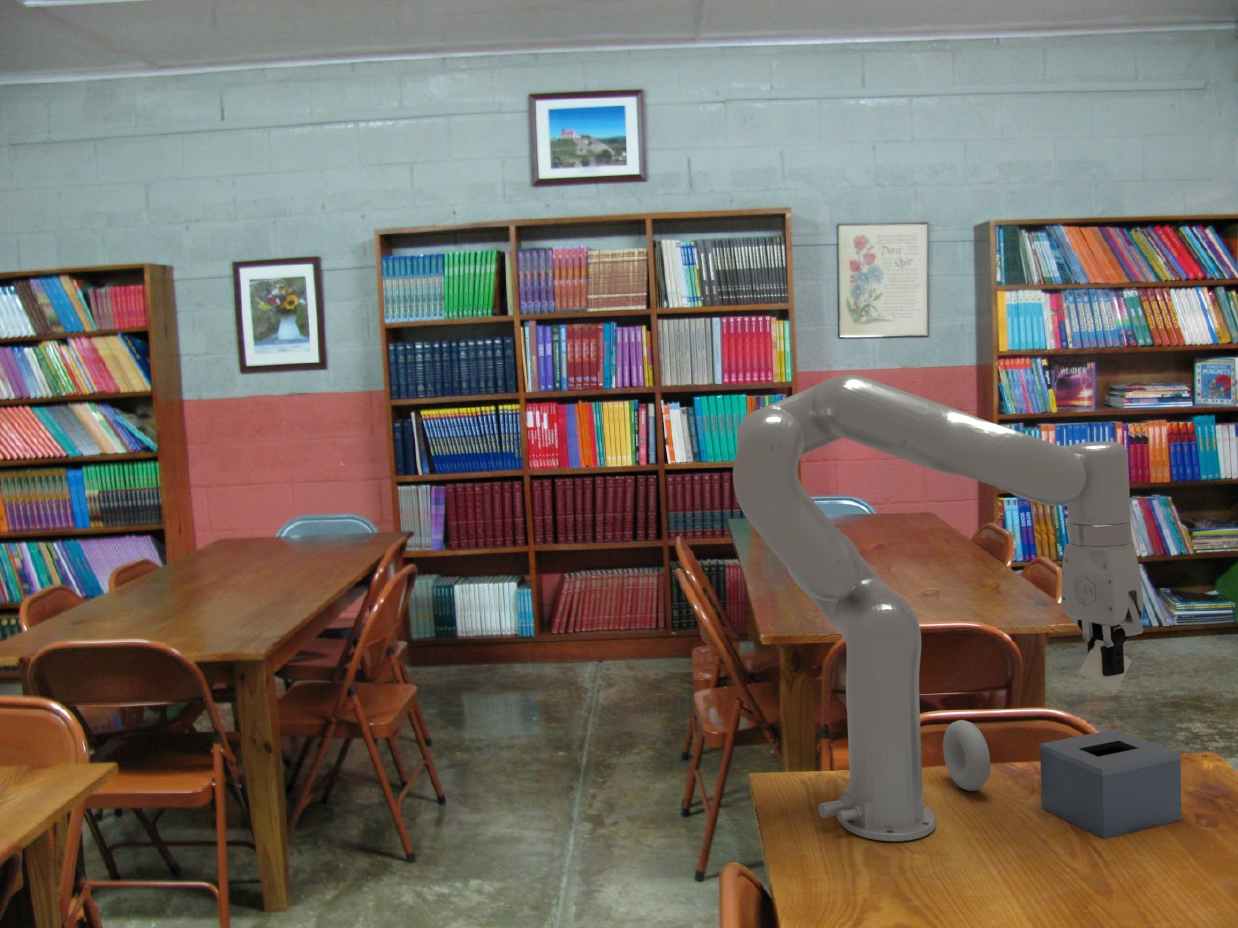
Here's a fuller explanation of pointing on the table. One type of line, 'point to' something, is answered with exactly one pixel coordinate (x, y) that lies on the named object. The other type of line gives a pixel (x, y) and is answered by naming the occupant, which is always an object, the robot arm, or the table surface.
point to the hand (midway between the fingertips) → (1106, 671)
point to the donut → (966, 755)
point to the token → (1094, 669)
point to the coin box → (1111, 782)
